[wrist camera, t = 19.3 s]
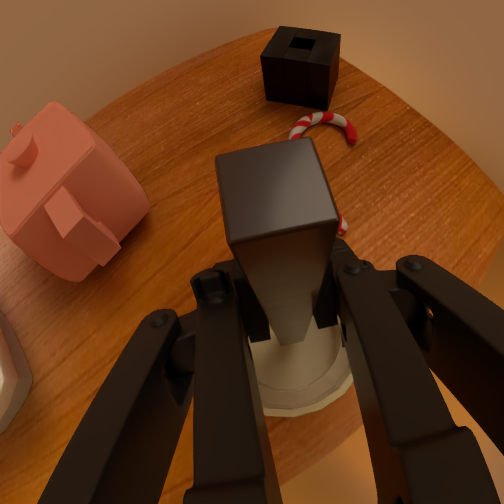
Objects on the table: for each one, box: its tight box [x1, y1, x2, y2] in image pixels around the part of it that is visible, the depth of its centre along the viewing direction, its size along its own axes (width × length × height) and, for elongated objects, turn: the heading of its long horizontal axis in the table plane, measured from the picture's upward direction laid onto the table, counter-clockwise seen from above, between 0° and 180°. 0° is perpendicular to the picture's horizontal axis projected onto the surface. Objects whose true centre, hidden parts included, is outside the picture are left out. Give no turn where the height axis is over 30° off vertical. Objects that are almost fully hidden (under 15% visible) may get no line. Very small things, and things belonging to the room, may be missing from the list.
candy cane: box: [288, 112, 357, 234], centre depth 31 cm, size 8×1×15 cm
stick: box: [215, 137, 340, 346], centre depth 14 cm, size 2×2×20 cm
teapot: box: [0, 101, 150, 282], centre depth 27 cm, size 22×13×14 cm, turn 46°
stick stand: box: [260, 26, 341, 111], centre depth 33 cm, size 8×8×7 cm
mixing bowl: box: [248, 314, 354, 417], centre depth 23 cm, size 11×11×6 cm
